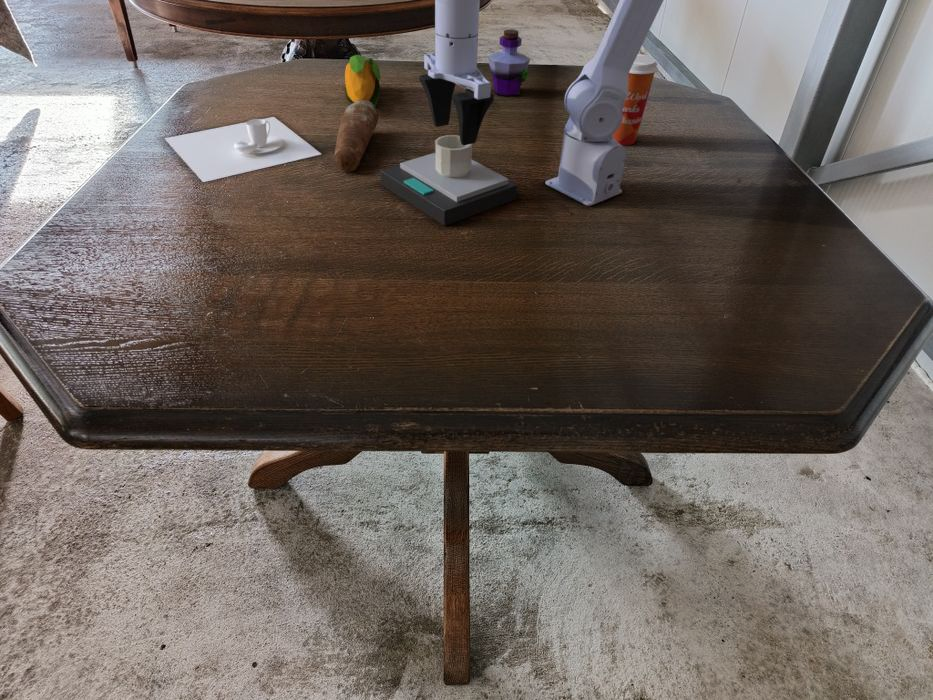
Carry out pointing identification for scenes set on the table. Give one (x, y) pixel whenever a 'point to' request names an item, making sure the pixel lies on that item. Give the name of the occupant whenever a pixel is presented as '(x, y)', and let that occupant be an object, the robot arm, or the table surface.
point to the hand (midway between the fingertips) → (454, 134)
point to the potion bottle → (508, 65)
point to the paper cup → (636, 98)
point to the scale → (448, 189)
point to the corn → (362, 80)
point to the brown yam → (354, 134)
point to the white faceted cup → (452, 156)
